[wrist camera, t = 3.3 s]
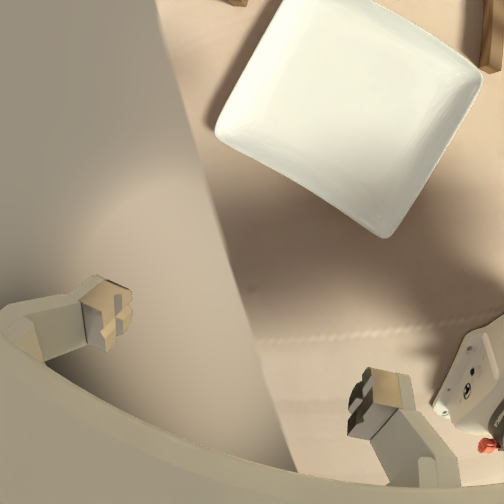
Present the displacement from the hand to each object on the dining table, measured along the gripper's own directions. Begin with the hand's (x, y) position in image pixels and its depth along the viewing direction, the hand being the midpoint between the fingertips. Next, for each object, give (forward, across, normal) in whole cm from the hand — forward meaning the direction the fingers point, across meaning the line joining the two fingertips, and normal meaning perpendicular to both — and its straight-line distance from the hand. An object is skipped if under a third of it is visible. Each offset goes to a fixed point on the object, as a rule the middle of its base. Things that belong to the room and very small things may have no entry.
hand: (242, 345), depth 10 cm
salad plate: (+26, +2, +10) cm, 29 cm away
